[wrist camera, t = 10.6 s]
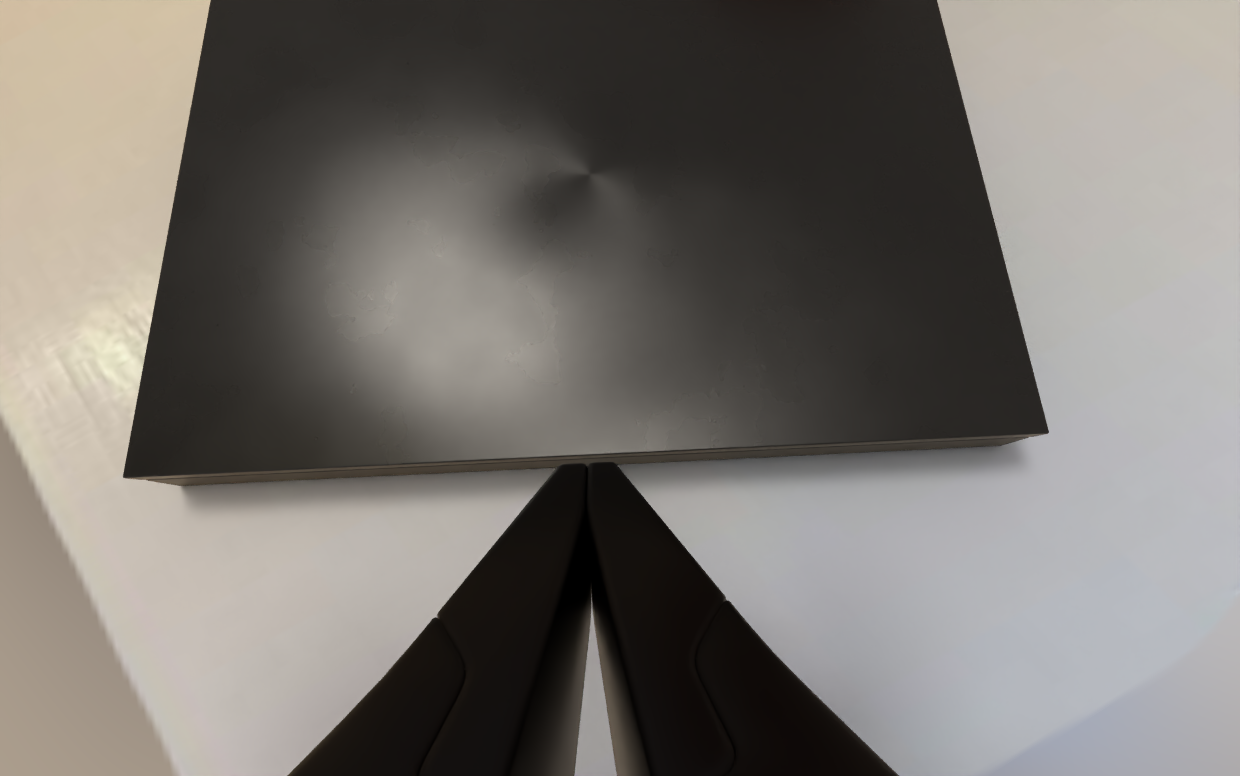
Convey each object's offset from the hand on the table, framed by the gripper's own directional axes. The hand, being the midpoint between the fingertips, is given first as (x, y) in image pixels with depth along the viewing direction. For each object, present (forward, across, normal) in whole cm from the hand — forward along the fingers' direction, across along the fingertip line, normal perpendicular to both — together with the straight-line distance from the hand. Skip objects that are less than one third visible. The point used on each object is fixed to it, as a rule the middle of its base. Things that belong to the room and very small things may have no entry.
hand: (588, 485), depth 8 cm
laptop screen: (+15, 0, -3) cm, 15 cm away
